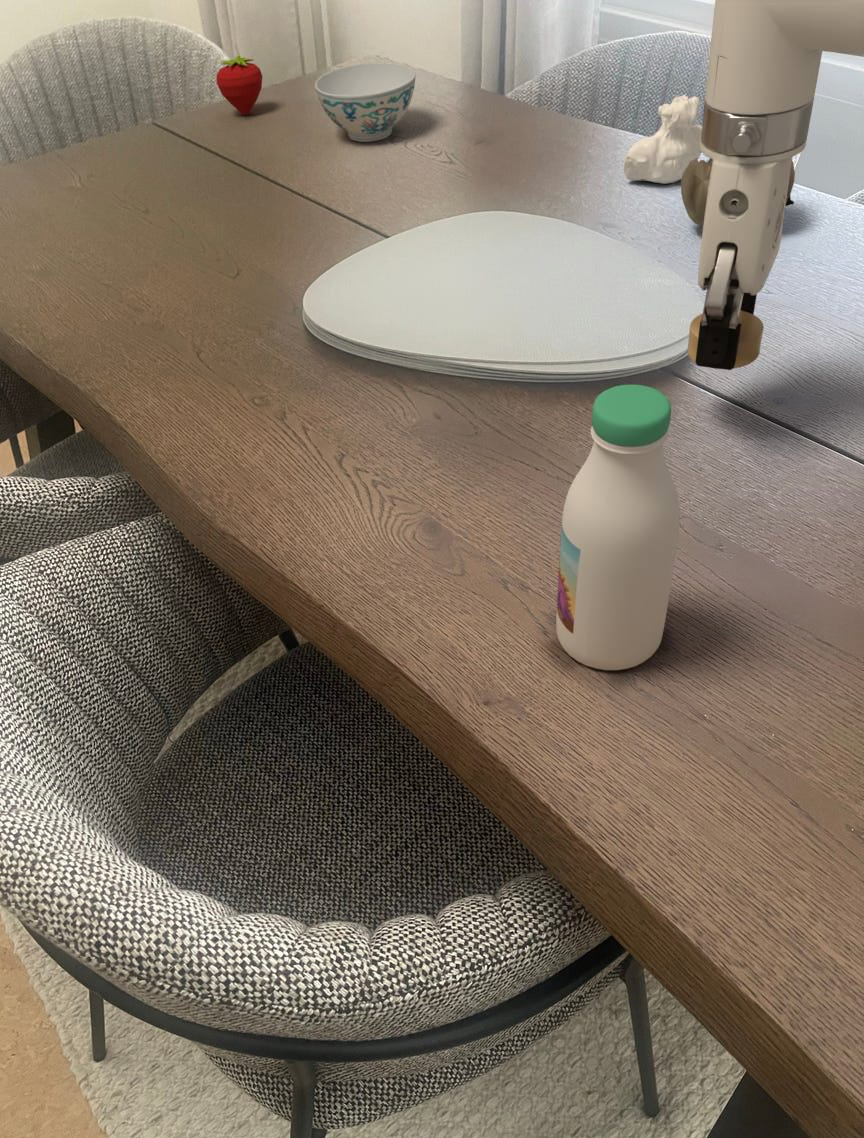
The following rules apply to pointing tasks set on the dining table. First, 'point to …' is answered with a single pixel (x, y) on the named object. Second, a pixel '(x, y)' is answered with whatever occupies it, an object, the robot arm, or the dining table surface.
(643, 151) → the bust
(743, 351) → the tan short cylinder
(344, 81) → the chinaware
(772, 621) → the dining table surface
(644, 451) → the milk bottle
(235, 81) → the strawberry
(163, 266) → the dining table surface
